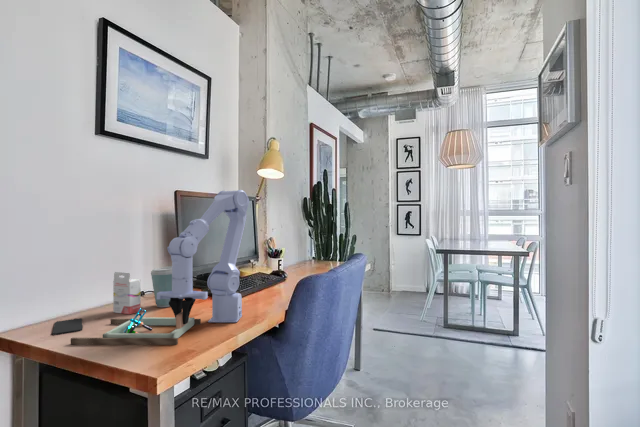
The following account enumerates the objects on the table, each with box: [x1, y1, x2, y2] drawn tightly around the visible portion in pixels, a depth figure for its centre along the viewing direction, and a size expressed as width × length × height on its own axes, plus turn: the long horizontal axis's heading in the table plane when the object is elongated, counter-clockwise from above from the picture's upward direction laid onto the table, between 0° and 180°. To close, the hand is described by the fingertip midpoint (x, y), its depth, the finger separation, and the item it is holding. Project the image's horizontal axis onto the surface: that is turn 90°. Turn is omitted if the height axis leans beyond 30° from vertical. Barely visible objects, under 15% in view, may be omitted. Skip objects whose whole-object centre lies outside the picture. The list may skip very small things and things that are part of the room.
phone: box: [51, 317, 84, 336], centre depth 110 cm, size 7×1×15 cm
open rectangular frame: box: [102, 310, 195, 339], centre depth 103 cm, size 19×16×6 cm
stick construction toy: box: [124, 308, 153, 333], centre depth 103 cm, size 12×7×8 cm
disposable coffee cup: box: [150, 265, 172, 308], centre depth 135 cm, size 11×11×15 cm
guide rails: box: [70, 318, 202, 346], centre depth 103 cm, size 29×18×2 cm, turn 89°
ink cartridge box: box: [112, 271, 142, 316], centre depth 127 cm, size 9×5×15 cm, turn 68°
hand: (182, 323), depth 103 cm, fingers closed on open rectangular frame
